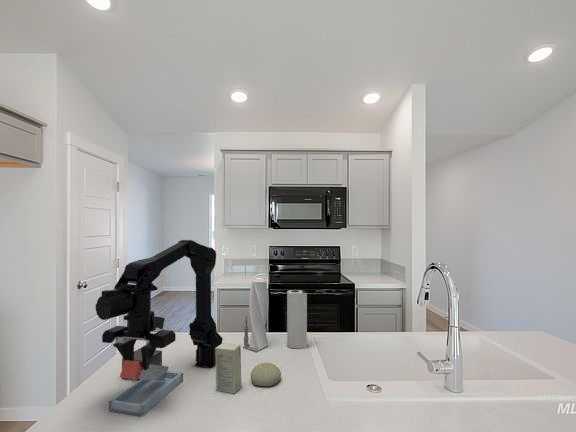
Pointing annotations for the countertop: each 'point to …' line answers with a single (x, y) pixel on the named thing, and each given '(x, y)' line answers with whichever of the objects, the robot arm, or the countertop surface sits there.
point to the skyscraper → (257, 315)
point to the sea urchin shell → (265, 374)
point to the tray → (144, 395)
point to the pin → (143, 371)
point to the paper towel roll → (296, 319)
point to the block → (155, 360)
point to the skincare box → (228, 367)
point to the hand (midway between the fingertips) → (138, 368)
